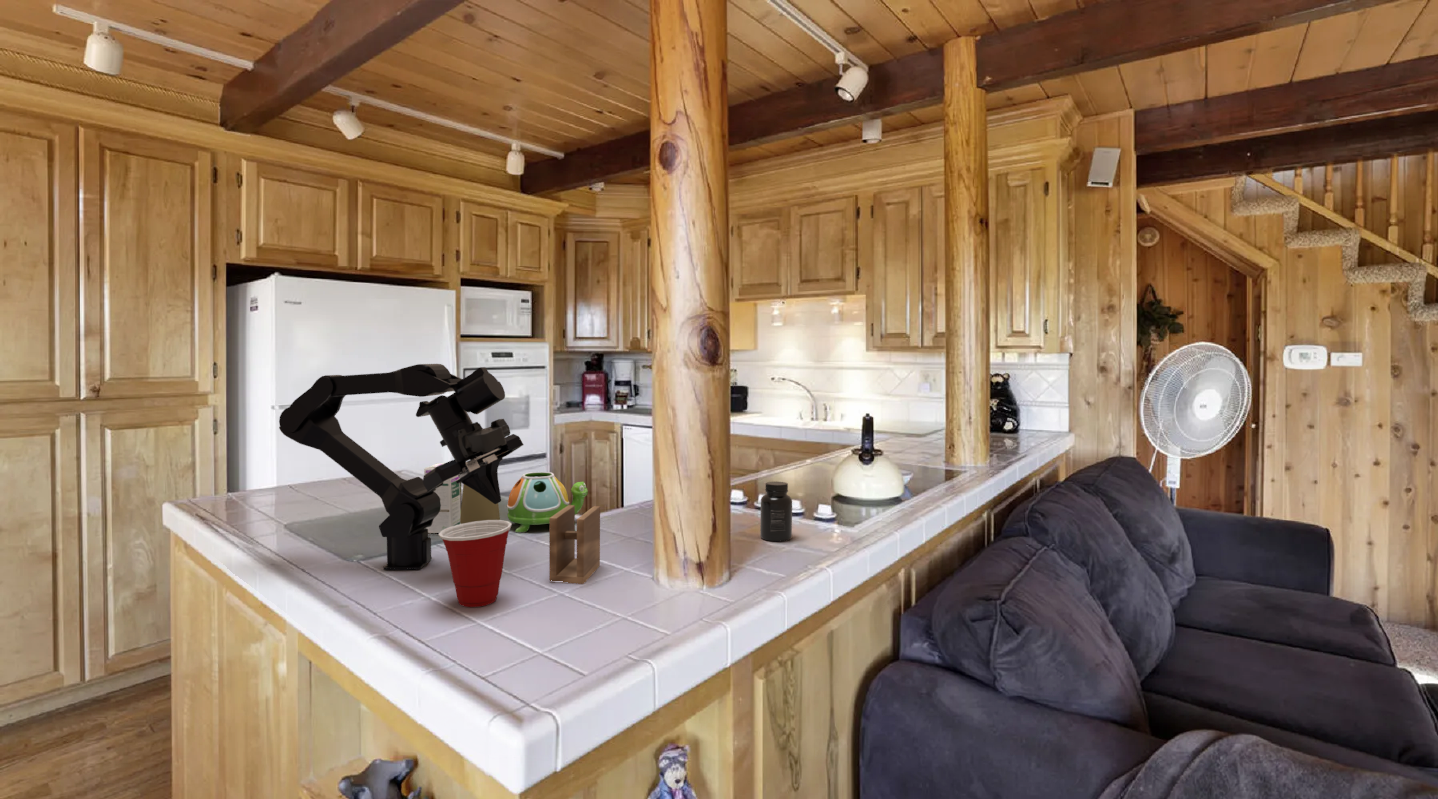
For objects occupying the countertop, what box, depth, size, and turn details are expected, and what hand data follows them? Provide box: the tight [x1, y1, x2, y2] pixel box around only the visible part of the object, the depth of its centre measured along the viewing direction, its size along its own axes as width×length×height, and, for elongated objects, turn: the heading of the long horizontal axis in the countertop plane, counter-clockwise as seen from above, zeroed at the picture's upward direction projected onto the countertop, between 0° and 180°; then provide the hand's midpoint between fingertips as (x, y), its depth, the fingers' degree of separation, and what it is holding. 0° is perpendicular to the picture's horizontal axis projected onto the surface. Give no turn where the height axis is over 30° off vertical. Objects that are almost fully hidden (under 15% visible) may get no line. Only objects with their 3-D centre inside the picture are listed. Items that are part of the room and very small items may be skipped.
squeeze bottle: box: [460, 456, 501, 524], centre depth 142 cm, size 8×8×18 cm
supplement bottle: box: [759, 481, 793, 542], centre depth 145 cm, size 7×7×12 cm
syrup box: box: [423, 462, 462, 534], centre depth 147 cm, size 6×6×14 cm
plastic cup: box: [438, 519, 512, 608], centre depth 106 cm, size 11×11×12 cm
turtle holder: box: [506, 471, 589, 533], centre depth 153 cm, size 12×18×12 cm
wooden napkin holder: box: [548, 504, 601, 585], centre depth 120 cm, size 6×10×11 cm, turn 174°
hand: (498, 502), depth 121 cm, fingers closed
